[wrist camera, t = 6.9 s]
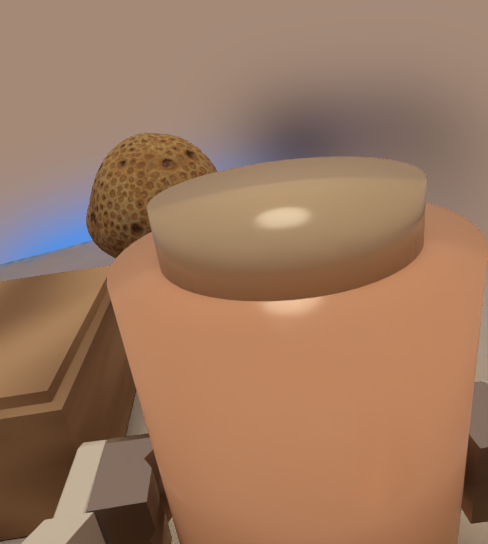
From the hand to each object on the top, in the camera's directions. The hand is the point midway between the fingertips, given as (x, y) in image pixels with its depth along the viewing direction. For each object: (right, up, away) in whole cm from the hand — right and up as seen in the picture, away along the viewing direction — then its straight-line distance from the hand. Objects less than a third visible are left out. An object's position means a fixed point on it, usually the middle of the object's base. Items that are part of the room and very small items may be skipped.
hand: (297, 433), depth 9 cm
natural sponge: (-6, +2, +22) cm, 23 cm away
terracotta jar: (+1, -5, +1) cm, 6 cm away
